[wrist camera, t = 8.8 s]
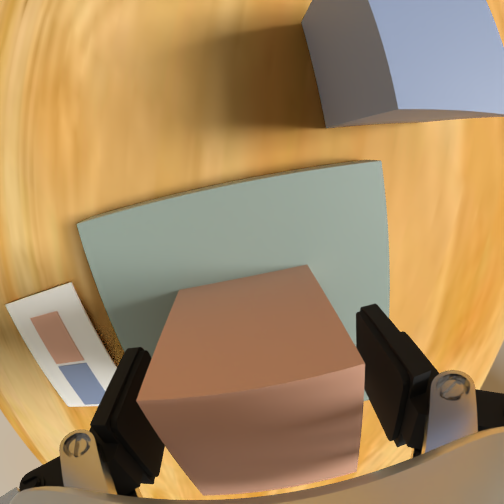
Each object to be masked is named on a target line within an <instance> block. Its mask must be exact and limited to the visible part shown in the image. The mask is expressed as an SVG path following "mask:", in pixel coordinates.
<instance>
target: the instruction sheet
mask: <svg viewBox="0 0 504 504" xmlns="http://www.w3.org/2000/svg"><path fill="white" fill-rule="evenodd" d="M5 306H6V308H7V310H8V312H9V314H10V316H11V318H12V320H13V322H14V324H15V325H16V327H17V329H18V331H19V333H20V335H21V336H22V338H23V340H24V342H25V343H26V345H27V347H28V348H29V350H30V352H31V353H32V355H33V357H34V358H35V360H36V361H37V363H38V364H39V366H40V368H41V369H42V371H43V372H44V374H45V375H46V377H47V378H48V380H49V381H50V382H51V384H52V385H53V387H54V388H55V389H56V391H57V392H58V394H59V395H60V396H61V398H62V399H63V400H64V402H65V403H66V404H67V406H68V407H79V406H99V404H100V402H101V400H102V398H103V396H104V393H105V391H106V389H107V387H108V385H109V383H110V381H111V379H112V377H113V375H114V373H115V371H116V369H117V367H116V365H115V363H114V362H113V360H112V358H111V357H110V355H109V353H108V352H107V350H106V348H105V346H104V345H103V343H102V341H101V339H100V338H99V336H98V334H97V332H96V330H95V328H94V327H93V325H92V323H91V321H90V319H89V317H88V315H87V313H86V311H85V309H84V307H83V305H82V303H81V301H80V299H79V297H78V295H77V292H76V290H75V288H74V286H73V284H72V282H70V283H67V284H64V285H61V286H58V287H55V288H52V289H49V290H46V291H43V292H40V293H37V294H34V295H31V296H28V297H25V298H23V299H20V300H17V301H14V302H11V303H8V304H6V305H5Z"/></svg>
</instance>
